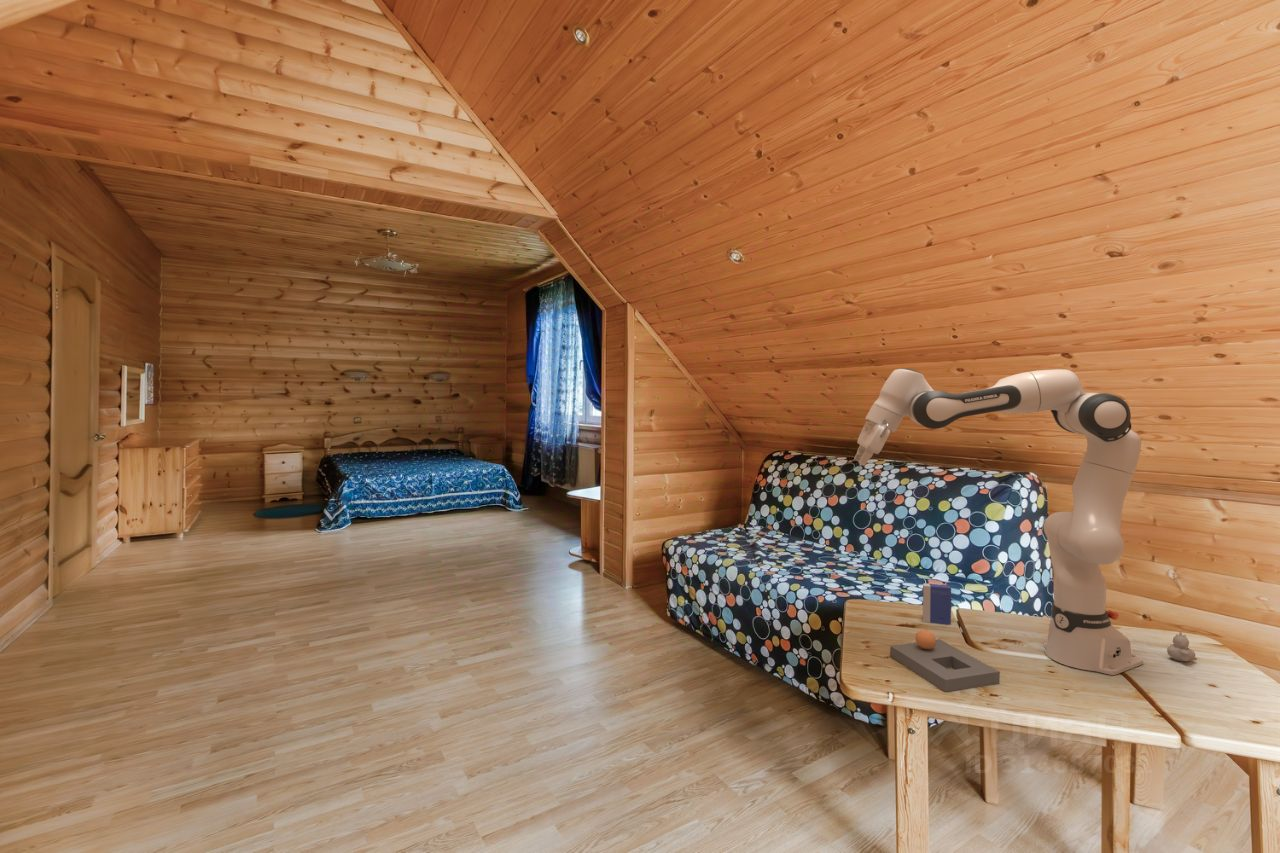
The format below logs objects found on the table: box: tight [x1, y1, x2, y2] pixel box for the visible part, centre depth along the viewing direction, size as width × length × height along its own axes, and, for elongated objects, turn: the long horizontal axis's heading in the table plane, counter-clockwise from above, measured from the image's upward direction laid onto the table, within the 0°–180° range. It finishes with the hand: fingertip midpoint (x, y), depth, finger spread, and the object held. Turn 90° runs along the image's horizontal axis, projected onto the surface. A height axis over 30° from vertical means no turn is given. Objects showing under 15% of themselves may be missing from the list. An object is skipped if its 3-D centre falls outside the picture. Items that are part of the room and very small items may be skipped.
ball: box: [915, 629, 937, 649], centre depth 156 cm, size 5×5×5 cm
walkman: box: [921, 583, 952, 626], centre depth 181 cm, size 8×3×12 cm, turn 70°
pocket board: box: [889, 638, 1001, 693], centre depth 150 cm, size 16×20×3 cm
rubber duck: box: [1166, 630, 1196, 663], centre depth 153 cm, size 5×7×8 cm
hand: (858, 462), depth 166 cm, fingers open, 8 cm apart
